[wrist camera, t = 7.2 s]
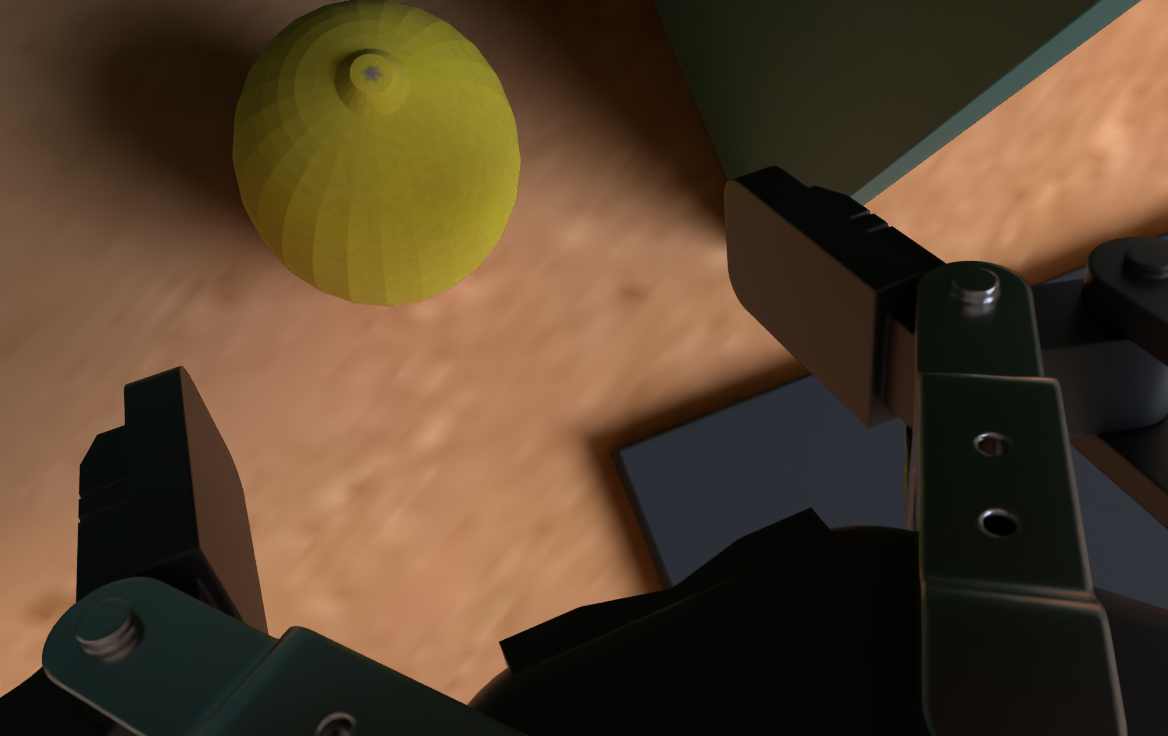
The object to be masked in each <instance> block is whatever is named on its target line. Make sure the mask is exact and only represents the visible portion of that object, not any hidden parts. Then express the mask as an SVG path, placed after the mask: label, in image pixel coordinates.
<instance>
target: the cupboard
mask: <svg viewBox="0 0 1168 736" xmlns="http://www.w3.org/2000/svg"><path fill="white" fill-rule="evenodd" d="M1140 1H1141V0H653V3H654V5H655V7H656V10H657V12H658V15H659V17H660V19H661V22H662V24H663V27H664V29H665V31H666V34H667V36H668V38H669V41H670V43H671V46H672V48H673V50H674V53H675V55H676V58H677V60H678V62H679V65H680V67H681V69H682V72H683V74H684V77H685V79H686V81H687V84H688V86H689V89H690V91H691V93H692V96H693V98H694V100H695V103H696V105H697V108H698V110H699V112H700V115H701V117H702V120H703V122H704V124H705V127H706V129H707V131H708V134H709V136H710V139H711V141H712V143H713V146H714V148H715V151H716V153H717V155H718V158H719V160H720V162H721V165H722V167H723V170H724V172H725V174H726V177H727V179H728V181H729V180H731V179H734V178H737V177H740V176H743V175H746V174H749V173H752V172H755V171H758V170H761V169H764V168H767V167H770V166H774V165H775V166H778V167H780V168H782V169H783V170H784V171H786V172H787V173H788V174H790V175H791V176H793V177H794V178H795V179H797V180H798V181H800V182H801V183H802V184H804V185H805V186H807V187H808V188H809V187H811V186H814V185H816V186H819V187H823V188H826V189H829V190H833V191H836V192H839V193H843V194H846V195H848V196H849V197H851V198H852V199H854V200H855V201H857V202H858V203H859V204H861V205H862V206H864V205H865V204H866V203H868V202H869V201H870V200H872V199H873V198H874V197H876V196H877V195H878V194H880V193H881V192H882V191H884V190H885V189H887V188H888V187H889V186H891V185H892V184H893V183H895V182H896V181H897V180H899V179H900V178H901V177H903V176H904V175H905V174H907V173H908V172H910V171H911V170H912V169H914V168H915V167H916V166H918V165H919V164H920V163H922V162H923V161H924V160H926V159H927V158H928V157H930V156H931V155H933V154H934V153H935V152H937V151H938V150H939V149H941V148H942V147H943V146H945V145H946V144H947V143H949V142H950V141H951V140H953V139H954V138H956V137H957V136H958V135H960V134H961V133H962V132H964V131H965V130H966V129H968V128H969V127H970V126H972V125H973V124H974V123H976V122H977V121H979V120H980V119H981V118H983V117H984V116H985V115H987V114H988V113H989V112H991V111H992V110H993V109H995V108H996V107H997V106H999V105H1000V104H1002V103H1003V102H1004V101H1006V100H1007V99H1008V98H1010V97H1011V96H1012V95H1014V94H1015V93H1016V92H1018V91H1019V90H1020V89H1022V88H1023V87H1025V86H1026V85H1027V84H1029V83H1030V82H1031V81H1033V80H1034V79H1035V78H1037V77H1038V76H1039V75H1041V74H1042V73H1044V72H1045V71H1046V70H1048V69H1049V68H1050V67H1052V66H1053V65H1054V64H1056V63H1057V62H1058V61H1060V60H1061V59H1062V58H1064V57H1065V56H1067V55H1068V54H1069V53H1071V52H1072V51H1073V50H1075V49H1076V48H1077V47H1079V46H1080V45H1081V44H1083V43H1084V42H1085V41H1087V40H1088V39H1090V38H1091V37H1092V36H1094V35H1095V34H1096V33H1098V32H1099V31H1100V30H1102V29H1103V28H1104V27H1106V26H1107V25H1108V24H1110V23H1111V22H1113V21H1114V20H1115V19H1117V18H1118V17H1119V16H1121V15H1122V14H1123V13H1125V12H1126V11H1127V10H1129V9H1130V8H1131V7H1133V6H1134V5H1136V4H1137V3H1138V2H1140Z"/></svg>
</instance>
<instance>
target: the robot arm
mask: <svg viewBox="0 0 1168 736" xmlns="http://www.w3.org/2000/svg"><path fill="white" fill-rule="evenodd" d="M724 212H725V228H726V244H727V260H728V272H729V277H730V281H731V284H732V287H733V290H734V292H735V294H736V296H737V298H738V300H739V301H740V303H741V304H742V306H743V307H744V308H745V309H746V310H747V311H748V312H749V313H750V314H751V315H752V316H753V317H754V318H755V319H756V320H757V321H758V322H759V323H760V324H761V325H762V326H763V327H765V328H766V329H767V330H768V331H769V332H770V333H771V334H772V335H773V336H774V337H775V338H776V339H777V340H778V341H779V342H780V343H781V344H782V345H783V346H784V347H785V348H786V349H787V350H788V351H789V352H790V353H791V354H792V355H793V356H794V357H795V358H796V359H797V360H798V361H799V362H800V363H801V364H802V365H803V366H804V367H805V368H806V369H807V370H808V371H809V372H811V373H812V374H813V375H814V376H815V377H816V378H817V379H818V380H819V381H820V382H821V383H822V384H823V385H824V386H825V387H826V388H827V389H828V390H829V391H830V392H831V393H832V394H833V395H834V396H835V397H836V398H837V399H838V400H839V401H840V402H841V403H842V404H843V405H844V406H845V407H846V408H847V409H848V410H849V411H850V412H851V413H852V414H853V415H854V416H855V417H857V418H858V419H859V420H860V421H861V422H862V423H863V424H864V425H865V426H866V427H867V428H868V429H872V428H874V427H876V426H879V425H881V424H883V423H886V422H888V421H891V420H893V419H895V418H898V417H899V418H900V419H901V420H902V421H903V422H904V423H906V427H905V439H904V482H903V529H901V528H895V527H885V526H867V525H857V526H845V527H836V528H830V529H829V527H828V526H827V525H826V524H825V523H824V522H823V520H822V519H821V518H820V517H819V516H818V515H817V513H816V512H815V511H814V510H813V509H812V507H810V508H808V509H806V510H803V511H801V512H799V513H797V514H794V515H792V516H790V517H787V518H785V519H783V520H780V521H778V522H776V523H773V524H771V525H769V526H766V527H764V528H762V529H759V530H757V531H755V532H752V533H750V534H748V535H746V536H743V537H741V538H739V539H737V540H736V541H735V542H733V543H732V544H731V545H729V546H728V547H727V548H725V549H724V550H723V551H721V552H720V553H719V554H717V555H716V556H715V557H713V558H712V559H711V560H709V561H708V562H707V563H705V564H704V565H703V566H701V567H700V568H699V569H697V570H696V571H695V572H693V573H692V574H691V575H689V576H688V577H687V578H685V579H684V580H683V581H681V582H680V583H678V584H677V585H675V586H674V587H671V588H669V589H666V590H662V591H657V592H652V593H647V594H642V595H637V596H632V597H627V598H622V599H617V600H612V601H607V602H602V603H597V604H592V605H587V606H582V607H579V608H576V609H574V610H572V611H569V612H567V613H565V614H562V615H560V616H558V617H555V618H553V619H551V620H548V621H546V622H544V623H541V624H539V625H537V626H534V627H532V628H530V629H528V630H525V631H523V632H521V633H518V634H516V635H514V636H511V637H509V638H507V639H504V640H502V641H500V642H499V643H500V646H501V649H502V652H503V655H504V658H505V661H506V664H507V667H508V668H506V669H505V670H504V671H502V672H501V673H500V674H498V675H497V676H496V677H494V678H493V679H492V680H491V681H490V682H489V683H488V684H487V685H486V686H485V687H483V688H482V689H481V690H480V691H479V692H478V693H477V694H476V696H475V697H474V698H473V699H472V700H471V701H470V702H469V704H468V705H465V704H463V703H461V702H459V701H457V700H455V699H453V698H451V697H449V696H447V695H444V694H442V693H440V692H438V691H436V690H434V689H432V688H430V687H428V686H426V685H424V684H422V683H420V682H418V681H416V680H413V679H411V678H409V677H407V676H405V675H403V674H401V673H399V672H397V671H395V670H393V669H391V668H389V667H387V666H385V665H382V664H380V663H378V662H376V661H374V660H372V659H370V658H368V657H366V656H364V655H362V654H360V653H358V652H356V651H354V650H351V649H349V648H347V647H345V646H343V645H341V644H339V643H337V642H335V641H333V640H331V639H329V638H327V637H325V636H323V635H320V634H318V633H316V632H314V631H312V630H310V629H307V628H304V627H299V626H293V627H290V628H289V629H288V630H287V631H286V632H285V633H284V634H283V635H282V637H281V638H280V639H277V638H274V637H272V636H270V635H268V629H267V623H266V618H265V612H264V606H263V601H262V595H261V589H260V583H259V578H258V572H257V566H256V560H255V555H254V549H253V543H252V538H251V532H250V526H249V520H248V515H247V509H246V503H245V497H244V492H243V488H242V484H241V481H240V478H239V475H238V472H237V469H236V466H235V464H234V461H233V459H232V457H231V454H230V452H229V450H228V448H227V446H226V444H225V442H224V440H223V438H222V437H221V435H220V433H219V431H218V429H217V427H216V425H215V423H214V421H213V419H212V417H211V415H210V413H209V411H208V410H207V408H206V406H205V404H204V402H203V400H202V398H201V396H200V394H199V392H198V390H197V388H196V386H195V384H194V383H193V381H192V379H191V377H190V375H189V374H188V372H187V371H186V369H185V368H184V367H183V366H179V367H176V368H173V369H170V370H167V371H164V372H161V373H158V374H156V375H153V376H150V377H147V378H144V379H141V380H138V381H135V382H132V383H129V384H126V385H125V387H124V407H125V425H124V426H121V427H118V428H115V429H112V430H109V431H107V432H104V433H101V434H98V435H97V436H96V438H95V440H94V441H93V443H92V445H91V447H90V448H89V450H88V452H87V454H86V456H85V457H84V459H83V461H82V463H81V464H80V478H79V495H80V497H81V499H79V514H78V517H79V519H80V523H78V551H77V587H76V603H75V604H74V605H73V606H72V607H70V608H69V609H68V610H67V611H66V612H65V613H64V614H63V615H62V616H61V618H60V619H59V620H58V621H57V623H56V624H55V625H54V627H53V628H52V630H51V632H50V633H49V635H48V637H47V640H46V642H45V644H44V648H43V653H42V664H43V666H42V667H41V668H40V669H39V670H38V671H37V672H36V673H35V674H33V675H32V676H31V677H30V678H29V679H27V680H26V681H24V682H23V683H22V684H20V685H19V686H17V687H16V688H14V689H13V690H11V691H10V692H8V693H7V694H5V695H4V696H2V697H1V698H0V736H1168V610H1166V609H1163V608H1160V607H1157V606H1153V605H1150V604H1147V603H1144V602H1141V601H1137V600H1134V599H1131V598H1128V597H1125V596H1121V595H1118V594H1115V593H1112V592H1109V591H1105V590H1102V589H1099V588H1096V587H1093V585H1092V579H1091V573H1090V566H1089V560H1088V554H1087V548H1086V542H1085V535H1084V529H1083V523H1082V517H1081V511H1080V504H1079V498H1078V492H1077V486H1076V480H1075V473H1074V467H1073V461H1072V455H1071V448H1070V445H1072V446H1073V447H1074V448H1075V449H1076V450H1077V451H1078V452H1080V453H1081V454H1082V455H1083V456H1084V457H1085V458H1086V459H1088V460H1089V461H1090V462H1091V463H1092V464H1093V465H1094V466H1096V467H1097V468H1098V469H1099V470H1100V471H1101V472H1102V473H1104V474H1105V475H1106V476H1107V477H1108V478H1109V479H1110V480H1112V481H1113V482H1114V483H1115V484H1116V485H1117V486H1118V487H1120V488H1121V489H1122V490H1123V491H1124V492H1125V493H1126V494H1127V495H1129V496H1130V497H1131V498H1132V499H1133V500H1134V501H1135V502H1137V503H1138V504H1139V505H1140V506H1141V507H1142V508H1143V509H1145V510H1146V511H1147V512H1148V513H1149V514H1150V515H1151V516H1153V517H1154V518H1155V519H1156V520H1157V521H1158V522H1159V523H1161V524H1162V525H1163V526H1164V527H1165V528H1166V529H1167V530H1168V240H1163V239H1158V238H1149V237H1127V238H1120V239H1115V240H1111V241H1108V242H1106V243H1103V244H1101V245H1099V246H1098V247H1096V248H1095V249H1094V250H1093V251H1092V252H1091V254H1090V256H1089V258H1088V263H1087V268H1086V273H1085V277H1084V278H1082V279H1075V280H1068V281H1061V282H1054V283H1047V284H1040V285H1032V286H1030V285H1029V283H1028V282H1027V281H1026V280H1025V279H1024V278H1023V277H1022V276H1021V275H1019V274H1018V273H1016V272H1015V271H1013V270H1011V269H1009V268H1006V267H1003V266H1001V265H997V264H993V263H988V262H981V261H959V262H952V263H948V264H946V263H945V262H943V261H942V260H940V259H939V258H937V257H936V256H935V255H933V254H932V253H930V252H929V251H927V250H926V249H924V248H923V247H922V246H920V245H919V244H917V243H916V242H914V241H913V240H911V239H910V238H909V237H907V236H906V235H904V234H903V233H901V232H900V231H898V230H897V229H896V228H894V227H893V226H891V227H889V226H888V223H887V222H885V221H884V220H883V219H881V218H880V217H878V216H877V215H875V214H870V211H869V210H868V209H867V208H865V207H864V206H862V205H861V204H859V203H858V202H857V201H855V200H854V199H852V198H851V197H849V196H848V195H846V194H843V193H839V192H836V191H833V190H829V189H826V188H823V187H819V186H816V185H814V186H811V187H809V188H808V187H807V186H805V185H804V184H802V183H801V182H800V181H798V180H797V179H795V178H794V177H793V176H791V175H790V174H788V173H787V172H786V171H784V170H783V169H782V168H780V167H778V166H775V165H774V166H770V167H767V168H764V169H761V170H758V171H755V172H752V173H749V174H746V175H743V176H740V177H737V178H734V179H731V180H729V181H728V182H727V183H726V185H725V188H724Z"/></svg>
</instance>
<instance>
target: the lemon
mask: <svg viewBox="0 0 1168 736" xmlns="http://www.w3.org/2000/svg"><path fill="white" fill-rule="evenodd" d="M233 164H234V169H235V173H236V178H237V182H238V186H239V191H240V195H241V199H242V202H243V205H244V207H245V209H246V211H247V213H248V215H249V217H250V219H251V221H252V222H253V224H254V226H255V228H256V230H257V232H258V234H259V236H260V238H261V239H262V241H263V242H264V244H265V245H266V246H267V247H268V248H269V249H270V250H271V251H272V252H273V253H274V254H275V255H276V257H277V258H278V259H279V260H280V261H281V262H282V263H283V264H284V265H285V266H286V267H287V268H288V269H289V270H290V271H291V272H292V273H293V274H295V275H297V276H298V277H300V278H301V279H303V280H304V281H306V282H308V283H309V284H311V285H312V286H314V287H315V288H317V289H319V290H320V291H322V292H324V293H327V294H330V295H333V296H336V297H339V298H342V299H345V300H348V301H351V302H353V303H358V304H370V305H381V306H393V305H399V304H405V303H412V302H418V301H422V300H424V299H427V298H429V297H432V296H434V295H436V294H439V293H441V292H444V291H446V290H448V289H450V288H452V287H453V286H454V285H456V284H457V283H458V282H460V281H461V280H462V279H464V278H465V277H466V276H468V275H469V274H470V273H472V272H473V271H474V270H476V269H477V268H478V267H479V266H480V265H481V263H482V262H483V261H484V259H485V258H486V257H487V256H488V254H489V253H490V252H491V250H492V249H493V248H494V247H495V245H496V244H497V243H498V241H499V240H500V238H501V236H502V234H503V231H504V229H505V227H506V224H507V222H508V220H509V217H510V215H511V213H512V210H513V208H514V205H515V201H516V194H517V187H518V180H519V173H520V165H521V161H520V151H519V144H518V136H517V129H516V122H515V118H514V115H513V112H512V110H511V107H510V105H509V102H508V100H507V97H506V95H505V92H504V90H503V87H502V85H501V83H500V80H499V78H498V77H497V75H496V73H495V72H494V70H493V69H492V68H491V66H490V65H489V64H488V62H487V61H486V59H485V58H484V57H483V55H482V54H481V53H480V51H479V50H478V48H477V47H476V46H475V45H474V44H473V43H472V42H470V41H469V40H468V39H467V38H466V37H464V36H463V35H462V34H461V33H460V32H458V31H457V30H456V29H455V28H454V27H453V26H451V25H450V24H449V23H448V22H446V21H444V20H442V19H440V18H438V17H436V16H434V15H432V14H430V13H428V12H426V11H424V10H422V9H420V8H418V7H414V6H410V5H406V4H402V3H398V2H394V1H390V0H349V1H344V2H340V3H335V4H331V5H326V6H323V7H321V8H318V9H316V10H314V11H312V12H310V13H308V14H306V15H304V16H302V17H300V18H298V19H295V20H294V21H293V22H292V23H291V24H289V25H288V26H287V27H286V28H285V29H283V30H282V31H281V32H280V33H279V34H278V35H276V36H275V37H274V38H273V39H272V40H271V41H270V42H269V43H268V44H267V46H266V47H265V49H264V50H263V52H262V53H261V55H260V56H259V58H258V59H257V60H256V62H255V63H254V65H253V66H252V68H251V69H250V71H249V73H248V76H247V78H246V81H245V84H244V87H243V90H242V93H241V96H240V98H239V101H238V104H237V107H236V111H235V117H234V135H233Z"/></svg>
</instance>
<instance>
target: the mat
mask: <svg viewBox="0 0 1168 736" xmlns="http://www.w3.org/2000/svg"><path fill="white" fill-rule="evenodd" d="M1155 238H1158V239H1163V240H1168V233H1165V234H1163V235H1160V236H1158V237H1155ZM1086 268H1087V265H1084V266H1081V267H1079V268H1076V269H1074V270H1071V271H1069V272H1066V273H1064V274H1061V275H1059V276H1056V277H1054V278H1051V279H1049V280H1046V281H1043V282H1041V283H1038V284H1036V285H1040V284H1047V283H1054V282H1061V281H1068V280H1075V279H1082V278H1084V277H1085V273H1086ZM905 427H906V423H904V422H903V421H902V420H901V419H900V418H899V417H898V418H895V419H893V420H891V421H888V422H886V423H883V424H881V425H879V426H876V427H874V428H872V429H868V428H867V427H866V426H865V425H864V424H863V423H862V422H861V421H860V420H859V419H858V418H857V417H855V416H854V415H853V414H852V413H851V412H850V411H849V410H848V409H847V408H846V407H845V406H844V405H843V404H842V403H841V402H840V401H839V400H838V399H837V398H836V397H835V396H834V395H833V394H832V393H831V392H830V391H829V390H828V389H827V388H826V387H825V386H824V385H823V384H822V383H821V382H820V381H819V380H818V379H817V378H816V377H815V376H814V375H813V374H812V373H810V374H808V375H805V376H803V377H800V378H797V379H795V380H792V381H790V382H787V383H785V384H782V385H780V386H777V387H775V388H772V389H770V390H767V391H764V392H762V393H759V394H757V395H754V396H752V397H749V398H747V399H744V400H742V401H739V402H737V403H734V404H732V405H729V406H726V407H724V408H721V409H719V410H716V411H714V412H711V413H709V414H706V415H704V416H701V417H699V418H696V419H693V420H691V421H688V422H686V423H683V424H681V425H678V426H676V427H673V428H671V429H668V430H666V431H663V432H661V433H658V434H655V435H653V436H650V437H648V438H645V439H643V440H640V441H638V442H635V443H633V444H630V445H628V446H625V447H622V448H620V449H618V450H615V451H614V452H613V453H612V458H613V460H614V463H615V465H616V468H617V470H618V473H619V475H620V478H621V480H622V483H623V486H624V488H625V491H626V493H627V496H628V498H629V501H630V503H631V506H632V508H633V511H634V513H635V516H636V518H637V521H638V524H639V526H640V529H641V531H642V534H643V536H644V539H645V541H646V544H647V546H648V549H649V551H650V554H651V556H652V559H653V562H654V564H655V567H656V569H657V572H658V574H659V577H660V579H661V582H662V584H663V587H664V589H665V590H666V589H669V588H671V587H674V586H675V585H677V584H678V583H680V582H681V581H683V580H684V579H685V578H687V577H688V576H689V575H691V574H692V573H693V572H695V571H696V570H697V569H699V568H700V567H701V566H703V565H704V564H705V563H707V562H708V561H709V560H711V559H712V558H713V557H715V556H716V555H717V554H719V553H720V552H721V551H723V550H724V549H725V548H727V547H728V546H729V545H731V544H732V543H733V542H735V541H736V540H737V539H739V538H741V537H743V536H746V535H748V534H750V533H752V532H755V531H757V530H759V529H762V528H764V527H766V526H769V525H771V524H773V523H776V522H778V521H780V520H783V519H785V518H787V517H790V516H792V515H794V514H797V513H799V512H801V511H803V510H806V509H808V508H810V507H812V509H813V510H814V511H815V512H816V513H817V515H818V516H819V517H820V518H821V519H822V520H823V522H824V523H825V524H826V525H827V526H828V527H829V529H830V528H836V527H845V526H857V525H867V526H885V527H895V528H901V529H903V482H904V439H905ZM1070 448H1071V455H1072V461H1073V467H1074V473H1075V480H1076V486H1077V492H1078V498H1079V504H1080V511H1081V517H1082V523H1083V529H1084V535H1085V542H1086V548H1087V554H1088V560H1089V566H1090V573H1091V579H1092V585H1093V587H1096V588H1099V589H1102V590H1105V591H1109V592H1112V593H1115V594H1118V595H1121V596H1125V597H1128V598H1131V599H1134V600H1137V601H1141V602H1144V603H1147V604H1150V605H1153V606H1157V607H1160V608H1163V609H1166V610H1168V530H1167V529H1166V528H1165V527H1164V526H1163V525H1162V524H1161V523H1159V522H1158V521H1157V520H1156V519H1155V518H1154V517H1153V516H1151V515H1150V514H1149V513H1148V512H1147V511H1146V510H1145V509H1143V508H1142V507H1141V506H1140V505H1139V504H1138V503H1137V502H1135V501H1134V500H1133V499H1132V498H1131V497H1130V496H1129V495H1127V494H1126V493H1125V492H1124V491H1123V490H1122V489H1121V488H1120V487H1118V486H1117V485H1116V484H1115V483H1114V482H1113V481H1112V480H1110V479H1109V478H1108V477H1107V476H1106V475H1105V474H1104V473H1102V472H1101V471H1100V470H1099V469H1098V468H1097V467H1096V466H1094V465H1093V464H1092V463H1091V462H1090V461H1089V460H1088V459H1086V458H1085V457H1084V456H1083V455H1082V454H1081V453H1080V452H1078V451H1077V450H1076V449H1075V448H1074V447H1073V446H1072V445H1070Z"/></svg>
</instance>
